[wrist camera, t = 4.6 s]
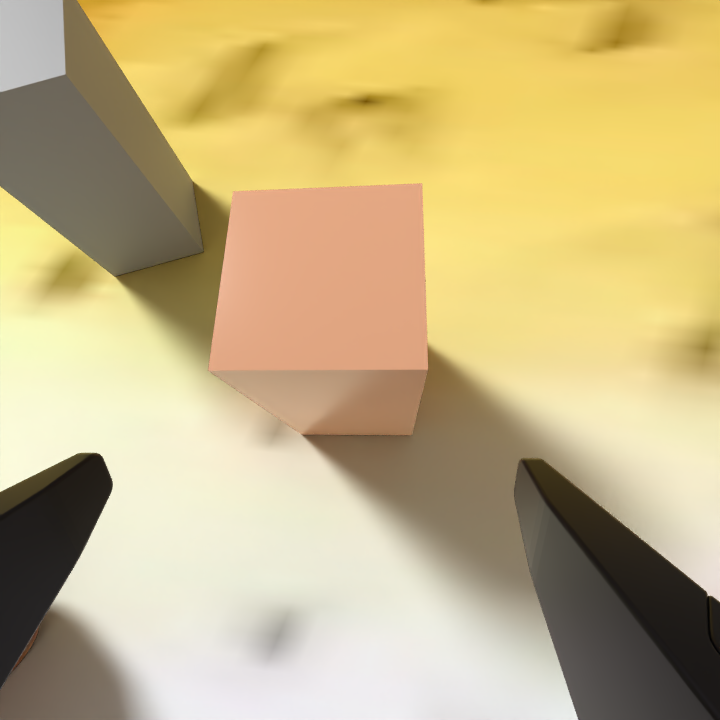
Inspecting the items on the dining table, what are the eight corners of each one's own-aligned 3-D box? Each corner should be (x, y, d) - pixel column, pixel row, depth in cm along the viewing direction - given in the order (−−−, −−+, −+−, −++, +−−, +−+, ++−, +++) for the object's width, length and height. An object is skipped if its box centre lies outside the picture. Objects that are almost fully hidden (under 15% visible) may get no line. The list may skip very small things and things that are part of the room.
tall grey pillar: (192, 180, 27) (62, -23, 16) (203, 251, 25) (65, 74, 14) (108, 203, 27) (-76, 14, 16) (114, 276, 25) (-89, 116, 14)
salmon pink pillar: (410, 331, 22) (422, 183, 12) (412, 435, 20) (427, 369, 10) (308, 332, 23) (233, 191, 12) (301, 434, 21) (208, 370, 11)
